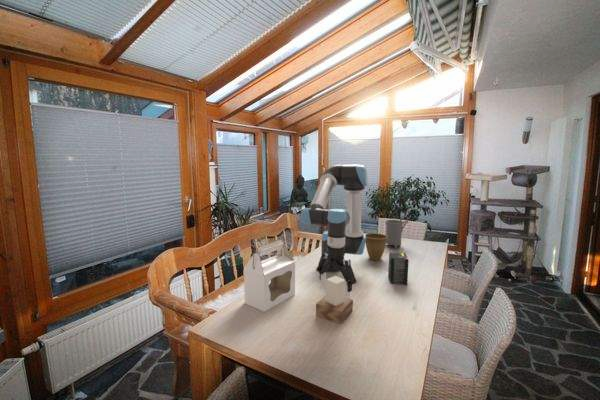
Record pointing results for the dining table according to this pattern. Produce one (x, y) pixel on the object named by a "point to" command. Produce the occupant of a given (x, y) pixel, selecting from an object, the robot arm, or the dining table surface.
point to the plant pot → (375, 245)
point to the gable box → (269, 277)
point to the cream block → (335, 290)
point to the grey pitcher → (394, 231)
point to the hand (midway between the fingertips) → (334, 292)
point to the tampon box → (398, 268)
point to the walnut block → (334, 310)
